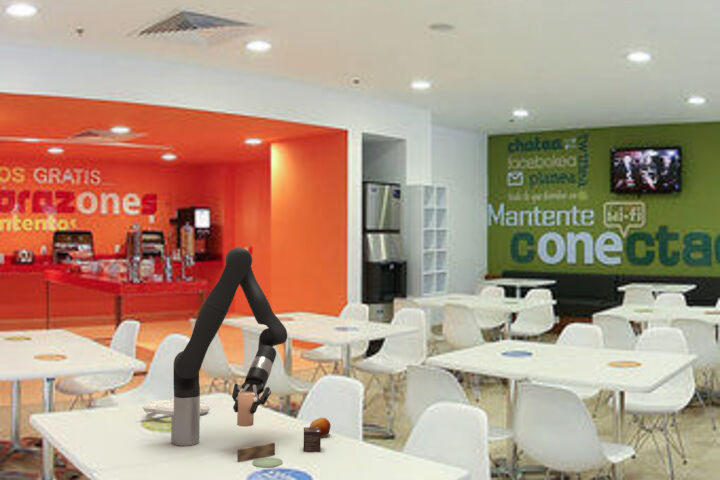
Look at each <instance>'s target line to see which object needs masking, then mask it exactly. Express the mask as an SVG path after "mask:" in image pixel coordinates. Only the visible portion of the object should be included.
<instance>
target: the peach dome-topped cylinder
mask: <svg viewBox="0 0 720 480" xmlns="http://www.w3.org/2000/svg"><path fill="white" fill-rule="evenodd" d="M253 402H254V392H249V391H245V392H241V391H240V392H239V393H238V412H237V417H236V418H237V419H236V422H237V423H236V425H237V426H239V427H244V428H245V427H253V426H254V420H255V418H254V415H255V413H254V414H251V413H250V409H251V406H252V404H253Z"/></svg>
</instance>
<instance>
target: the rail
mask: <svg viewBox="0 0 720 480" xmlns="http://www.w3.org/2000/svg"><path fill="white" fill-rule="evenodd" d="M236 450H237V451H236V452H237V459H236V460H237V462H238V463H240V462H244V461H250V460H255V459H259V458H267V457H271V456H275V455H276V443H275V442H269V443H264V444H259V445H257V444H256V445H254V446H253V445H252V446H248V447H247V446H246V447H242V448H237V449H236Z"/></svg>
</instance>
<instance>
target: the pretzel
mask: <svg viewBox="0 0 720 480" xmlns="http://www.w3.org/2000/svg"><path fill="white" fill-rule="evenodd" d="M142 409H143V411H144V412H145V413H154V414H158V415H160V414H161V415H166V416H174V397H172V398H170V399H168V400H165V399H164V400H163V399H162V400H154V401H150V403H146V404H144V405H143V407H142ZM210 410H211V407H210V405H209V404H208V403H205V402H200V414H205V413H208V412H210Z"/></svg>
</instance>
